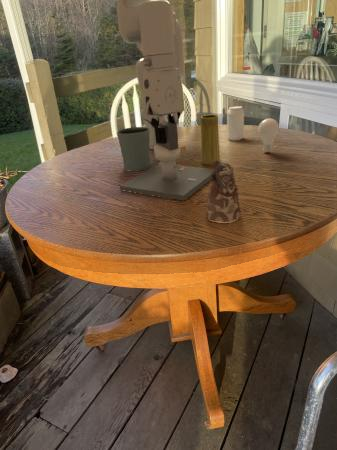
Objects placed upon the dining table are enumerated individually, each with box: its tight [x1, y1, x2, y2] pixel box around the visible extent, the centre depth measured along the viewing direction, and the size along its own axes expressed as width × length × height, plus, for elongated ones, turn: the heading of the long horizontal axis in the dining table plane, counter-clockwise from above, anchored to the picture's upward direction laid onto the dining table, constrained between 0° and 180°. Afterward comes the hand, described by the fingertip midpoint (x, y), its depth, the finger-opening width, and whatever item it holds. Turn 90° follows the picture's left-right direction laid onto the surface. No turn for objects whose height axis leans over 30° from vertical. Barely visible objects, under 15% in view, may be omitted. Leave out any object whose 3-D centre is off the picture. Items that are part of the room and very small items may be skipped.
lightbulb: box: [257, 117, 280, 154], centre depth 104 cm, size 6×6×11 cm
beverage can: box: [226, 105, 245, 142], centre depth 123 cm, size 6×6×12 cm
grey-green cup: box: [116, 126, 151, 172], centre depth 103 cm, size 10×10×12 cm
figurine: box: [205, 160, 241, 222], centre depth 66 cm, size 7×7×12 cm
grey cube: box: [153, 121, 186, 162], centre depth 85 cm, size 9×9×9 cm
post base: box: [119, 159, 214, 202], centre depth 89 cm, size 20×20×7 cm
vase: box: [200, 114, 221, 166], centre depth 100 cm, size 6×6×14 cm
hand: (167, 140), depth 84 cm, fingers closed on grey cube, 3 cm apart
